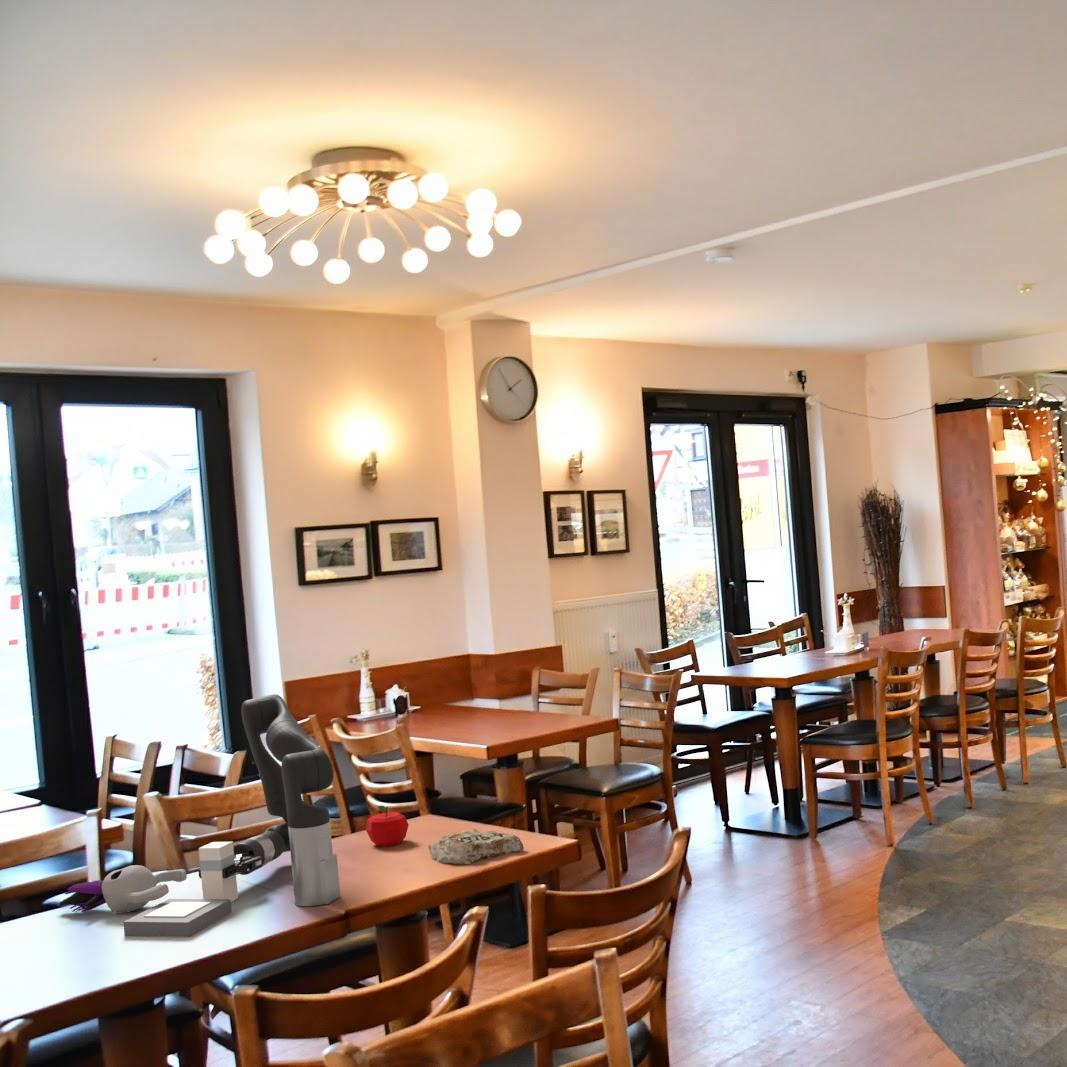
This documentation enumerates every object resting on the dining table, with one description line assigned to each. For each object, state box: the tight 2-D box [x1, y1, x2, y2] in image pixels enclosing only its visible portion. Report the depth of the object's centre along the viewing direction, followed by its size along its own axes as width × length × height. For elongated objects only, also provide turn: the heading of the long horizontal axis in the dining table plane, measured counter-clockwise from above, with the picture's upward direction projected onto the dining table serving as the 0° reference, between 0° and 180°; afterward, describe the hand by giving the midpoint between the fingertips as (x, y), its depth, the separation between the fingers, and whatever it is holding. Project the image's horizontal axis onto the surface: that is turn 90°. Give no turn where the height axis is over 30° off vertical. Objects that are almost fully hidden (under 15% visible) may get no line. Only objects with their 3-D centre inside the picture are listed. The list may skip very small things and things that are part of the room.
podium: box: [122, 898, 232, 938], centre depth 259 cm, size 16×16×3 cm
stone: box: [428, 828, 524, 865], centre depth 300 cm, size 19×6×25 cm
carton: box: [198, 841, 239, 903], centre depth 274 cm, size 6×6×13 cm
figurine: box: [58, 864, 188, 914], centre depth 275 cm, size 16×10×30 cm
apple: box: [365, 805, 409, 848], centre depth 317 cm, size 11×11×10 cm
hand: (212, 874), depth 272 cm, fingers closed on carton, 5 cm apart
